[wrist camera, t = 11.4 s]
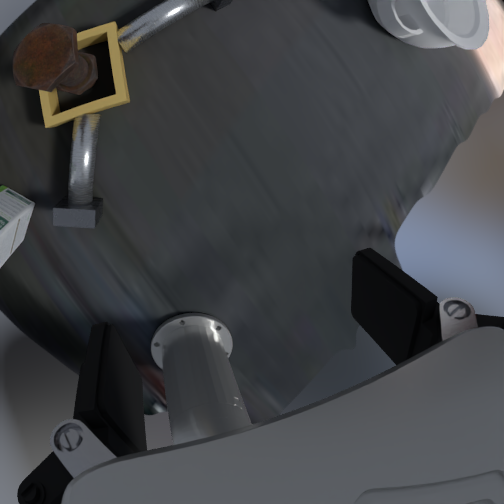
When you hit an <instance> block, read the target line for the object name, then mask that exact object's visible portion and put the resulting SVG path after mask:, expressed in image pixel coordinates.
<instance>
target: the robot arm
mask: <svg viewBox="0 0 504 504" xmlns="http://www.w3.org/2000/svg"><path fill="white" fill-rule="evenodd" d="M351 313H352V316H353V317H354V319H355V320H356V321H357V322H358V323H359V324H360V325H361V326H362V328H364V330H365V331H366V332H367V333H368V334H369V335H370V336H371V337H372V338H373V340H374V341H375V342H376V343H377V344H378V345H379V346H380V347H381V349H382V350H383V351H384V352H385V353H386V354H387V355H388V356H389V357H390V358H391V360H392V361H393V362H394V363H395V364H396V366H394V367H392V368H391V369H388V370H386V371H384V372H382V373H381V374H378V375H376V376H374V377H372V378H370V379H368V380H366V381H364V382H362V383H359V384H357V385H355V386H353V387H351V388H348V389H346V390H344V391H341V392H339V393H337V394H334V395H332V396H329V397H327V398H325V399H322V400H320V401H317V402H315V403H312V404H309V405H307V406H304V407H302V408H299V409H296V410H294V411H291V412H288V413H285V414H282V415H279V416H277V417H274V418H271V419H268V420H265V421H261V422H258V423H255V424H251V422H250V419H249V416H248V413H247V411H246V408H245V405H244V403H243V400H242V397H241V394H240V392H239V389H238V386H237V383H236V380H235V377H234V375H233V372H232V369H231V366H230V363H229V360H228V358H229V356H230V354H231V351H232V346H233V343H232V337H231V334H230V332H229V330H228V328H227V327H226V326H225V325H224V323H223V322H221V321H220V320H218V319H217V318H215V317H213V316H210V315H207V314H203V313H186V314H181V315H177V316H175V317H172V318H170V319H168V320H167V321H165V322H164V323H163V324H161V325H160V326H159V327H158V329H157V330H156V331H155V333H154V335H153V337H152V341H151V353H152V357H153V359H154V361H155V363H156V364H157V365H158V366H159V367H160V368H161V369H162V370H163V374H164V384H165V392H166V400H167V408H168V415H169V423H170V429H171V436H172V440H173V443H174V445H172V446H167V447H163V448H158V449H152V450H147V445H146V434H145V422H144V407H143V388H142V379H141V376H140V374H139V372H138V370H137V368H136V366H135V365H134V363H133V361H132V359H131V357H130V355H129V354H128V352H127V350H126V348H125V346H124V344H123V342H122V340H121V338H120V336H119V334H118V332H117V330H116V328H115V326H114V325H113V324H112V325H109V323H108V322H103V323H99V324H95V325H92V328H91V333H90V338H89V343H88V348H87V353H86V359H85V363H83V364H82V366H81V369H80V375H79V381H78V388H77V394H76V401H75V408H74V416H73V419H68V420H65V421H63V422H61V423H60V424H58V425H57V426H56V427H55V428H54V430H53V432H52V434H51V438H50V444H51V447H52V450H53V452H52V453H51V454H50V455H49V456H48V457H47V458H46V459H45V460H44V461H43V462H42V463H41V464H40V465H39V466H38V467H37V468H36V469H35V470H33V471H32V472H31V474H30V475H28V476H27V477H26V478H25V479H24V480H23V481H22V483H21V484H20V486H19V489H18V495H17V497H18V502H19V504H504V317H498V316H488V315H479V314H475V311H474V308H473V306H472V305H471V304H470V303H469V302H467V301H466V300H463V299H461V298H447V299H445V300H443V301H442V302H441V303H440V304H439V303H438V302H437V296H435V295H434V294H433V293H432V292H430V291H429V290H428V289H426V288H425V287H424V286H422V285H421V284H420V283H418V282H417V281H416V280H414V279H413V278H412V277H410V276H409V275H408V274H406V273H405V272H404V271H402V270H401V269H399V268H398V267H397V266H395V265H394V264H393V263H391V262H390V261H388V260H387V259H386V258H384V257H383V256H381V255H380V254H379V253H377V252H376V251H374V250H373V249H371V248H367V249H364V250H361V251H358V252H356V254H355V256H354V257H353V266H352V301H351Z"/></svg>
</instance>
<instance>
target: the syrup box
mask: <svg viewBox="0 0 504 504" xmlns="http://www.w3.org/2000/svg"><path fill="white" fill-rule="evenodd" d="M34 205H35V203H34V202H32V201H30V200H29V199H27V198H25V197H24V196H22V195H20V194H18V193H17V192H15V191H13V190H11V189H9V188H8V187H6V186H4V185H2V186H0V268H1V266H2V265H3V264H4V263H5V261H6V260H7V259H8V258H9V256H10V255H11V254H12V253H13V252H14V251H15V249H16V248H17V247H18V246H19V245H20V243H21V242H22V241H23V240H24V237H25V233H26V230H27V227H28V223H29V220H30V217H31V214H32V211H33V208H34Z"/></svg>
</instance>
